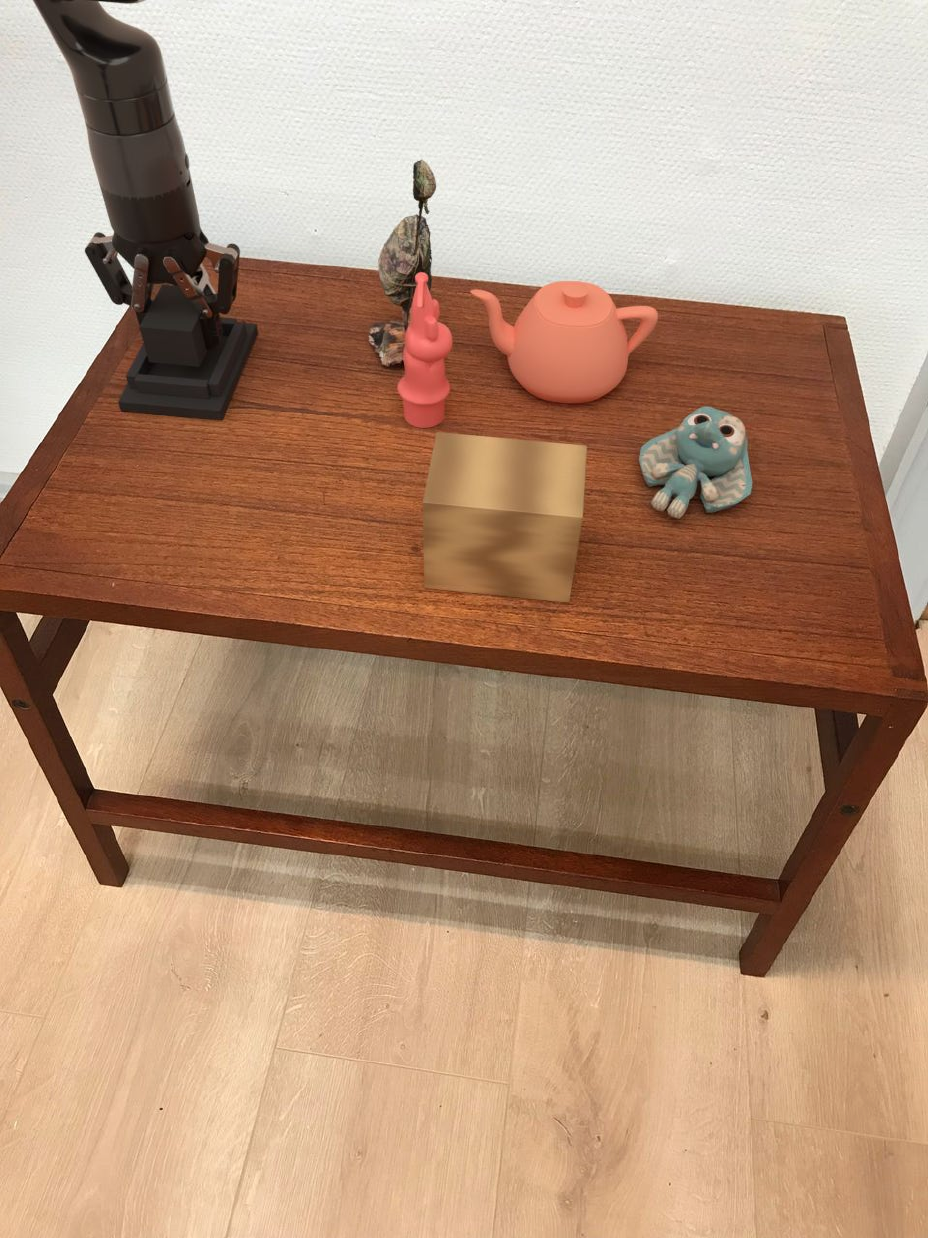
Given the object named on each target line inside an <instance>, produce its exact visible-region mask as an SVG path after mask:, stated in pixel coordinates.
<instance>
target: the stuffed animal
mask: <svg viewBox="0 0 928 1238" xmlns="http://www.w3.org/2000/svg"><path fill="white" fill-rule="evenodd" d="M746 434H747V432H746V427H745V425H744V423H743V421H742V420H741V419H739V418H738V417H736V416H734V415H733V414H731V413H729V412H727V411H724V410H721V409H718V408H717V409H716V408H715V407H712V406H702V407H699V408H697V409H696V410H694V411H693V412H692V413H690V414H687V416H686V417H684V419H683V420H682V421H681V423H680V424H679V426H678V427H675V428H673V429H671V430H669V431H667V432H665V433H663V434H661V435H658V436H655V437H653V438H651V439H649V440H648V441H647V442H645V443H644V444H643V445H642V446H641V447H640V452H639V455H638V462H639V466H640V469H641V473H642V476H643V480H644V482H645V483H646V485H647V486H648V487H649V488H650V487H651V488H652V487H655V486H663V487H662V488H661V489H660V490H658V491H657V492H656V494H655V495H654V496H653V498H652V500H651V501H650V503H651V507H652V508H653V509H654V510H656V511H659V512H662V513H663V512H664V511H665V510H666V508H667V507H668V508H667V510H666V511H667V515H669V516H670V517H672V518H674V519H677V520H680V519H681V518H682V517H683V516H684V514H685V512H686V511H687V510H688V508H689V504H690V503H689V502H690V500H691V499H693V497H694V496H695V495H696V493H697V488H698V483H699V482H700V493H699V497H700V500H701V501H702V504H703V507H704V511H705V513H707V514H708V513H716V512H719V511H722V510H726V509H729V508H732V507H733V506H735V505H737V504H738V503H740V502H742V501H743V500H745V499H746V498H747V497H749V496H750V495H751V493H752V490H753V489H752V488H753V479H752V472H751V467H750V458H749V452H748V446H749V445H748V442H749V441H748V438H747V435H746ZM709 478H711V479H709ZM672 497H673V498H674V499H673V500H672V502H671V499H672ZM670 502H671V503H670ZM669 503H670V504H669Z"/></svg>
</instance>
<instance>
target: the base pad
mask: <svg viewBox="0 0 928 1238" xmlns="http://www.w3.org/2000/svg"><path fill="white" fill-rule="evenodd" d="M220 319H221V324H222V329H223V334H222V337H221V339H220V341H219V343H218V345H217V344H216V346H215V348H214V350H211V349H208V350H207V353H206V355H205V357H204V359H203V361H202V363H201V366H200V367H195V366H184V365H173V364H162V363H150V362H149V360H148V356H147V353H146V349H145V346H144V342H143V343H142V345H141V346H140V348H139V349H138V352H137V354H136V356H135V358H134V360H133V361H132V363H131V365H130V367H129V369H128V371H127V373H126V375H125V379H126V381H127V383H126V385H125V387H124V389H123V391H122V393H121V395H120V397H119V399H118V401H117V403H118V406H119V409H120V411H121V412H125V413H126V412H128V413H136V414H137V413H138V414H147V415H148V414H149V415H160V416H171V417H181V418H191V419H192V418H193V419H203V420H204V419H205V420H215V421H223V420H224V418H225V416H226V413H227V410H228V407H229V405H230V402H231V401H232V398H233V395H234V393H235V390H236V389H237V386H238V383H239V381H240V378H241V376H242V374H243V371H244V369H245V366H246V364H247V361H248V360H249V357H250V354H251V352H252V350H253V348H254V345H255V343H256V339H257V337H258V335H259V329H258V324H257V323H253V322H252V323H251V322H245V321H237V318H233V317H221V316H220Z"/></svg>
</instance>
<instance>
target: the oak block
mask: <svg viewBox="0 0 928 1238" xmlns="http://www.w3.org/2000/svg"><path fill="white" fill-rule="evenodd" d="M587 454H588V445H584V444H574V443H563V442H552V441H551V442H550V441H541V440H540V441H539V440H529V439H518V438H508V437H507V438H506V437H498V436H497V437H496V436H486V435H474V434H473V435H472V434H463V433H452V432H442V431H437V432H435V438H434V443H433V447H432V452H431V457H430V463H429V468H428V472H427V478H426V483H425V488H424V493H423V497H422V503H421V504H422V505H421V506H422V536H423V537H422V545H423V547H422V548H423V586H424V587H423V588H424V589H428V590H439V591H448V592H458V593H459V592H460V593H469V594H478V595H489V596H490V595H491V596H500V597H508V598H509V597H510V598H518V599H529V600H536V601H537V600H538V601H547V602H558V603H570V600H571V595H572V589H573V582H574V577H575V570H576V563H577V557H578V551H579V544H580V540H581V539H580V538H581V534H582V533H581V532H582V526H583V520H584V506H585V490H586V474H587V473H586V471H587V456H588V455H587Z"/></svg>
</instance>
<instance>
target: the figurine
mask: <svg viewBox="0 0 928 1238" xmlns="http://www.w3.org/2000/svg"><path fill="white" fill-rule="evenodd" d="M415 281H416V283H417V286H416V289H415V293H414V297H413V301H412V306H411V321H410V324H409V326H408V328H407V331H406V335H405V347H404V352H403V359H404V360H403V359H402V360H403V364H404V375H403V376H402V378H401V379H400V380H399V381H398V383H397V392H398V394H399V396H400V397H401V398H402V405H403V406H402V407H403V419H404V421H405V422H406V423H407V424H408V425H411V426H412V427H415V428H420V429H430V428H433V427H436V426H438V425H440V424H441V423H442V422H443V420H444V419H445V415H446V414H445V413H446V412H445V411H446V409H445V406H446V404H445V403H446V402H445V401H446V399H447V397H448V396H449V394H450V391H451V385H450V382H449V380H448V378H447V377H446V362H445V357H447V356H449V354H450V352H451V350H452V347H453V343H454V342H453V341H454V340H453V335H452V332H451V330H450V329H449V328H448V326H447V325H445V324H444V323H442V322H439V321H438V319H439V317H440V311H441V310H440V303H439V301H438V300H437V299H435V298H433V297H432V295H431V291H430V292H429V289H428V286H427V284H426V283H427V282H428V275H427V274H426V273H423V272H420V273H417V274H416V276H415Z"/></svg>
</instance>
